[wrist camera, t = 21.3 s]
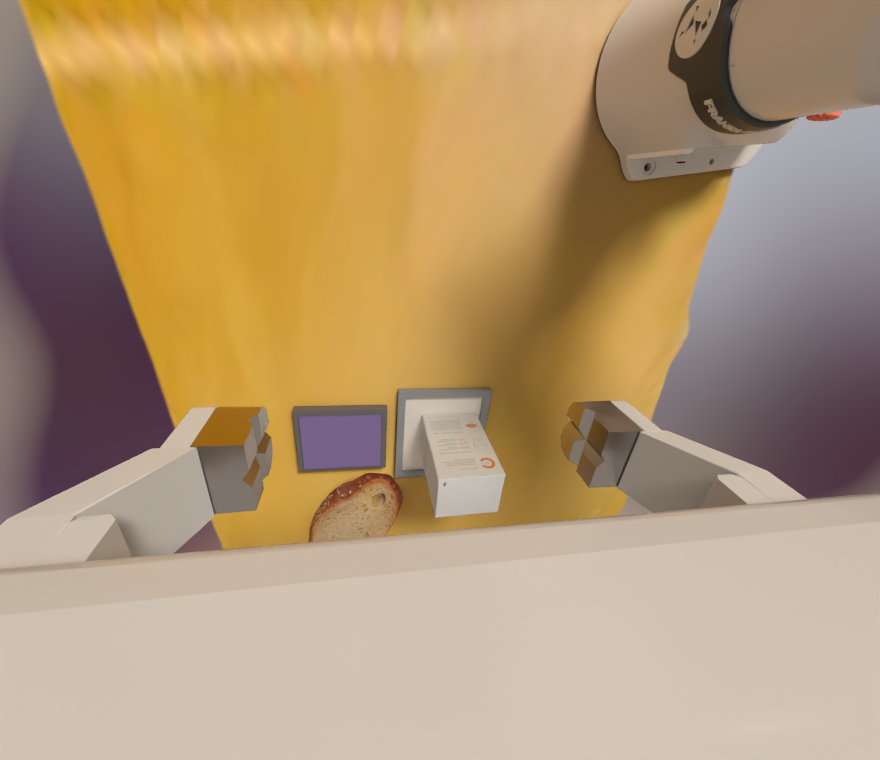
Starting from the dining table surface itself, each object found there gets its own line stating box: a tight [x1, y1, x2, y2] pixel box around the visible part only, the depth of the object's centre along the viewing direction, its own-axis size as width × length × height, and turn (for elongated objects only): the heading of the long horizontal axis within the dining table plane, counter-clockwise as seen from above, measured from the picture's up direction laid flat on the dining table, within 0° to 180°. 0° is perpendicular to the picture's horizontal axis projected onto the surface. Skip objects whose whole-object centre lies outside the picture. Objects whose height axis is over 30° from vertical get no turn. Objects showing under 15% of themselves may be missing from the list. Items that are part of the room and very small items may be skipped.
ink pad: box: [292, 405, 387, 472], centre depth 50 cm, size 12×10×2 cm
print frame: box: [395, 388, 492, 478], centre depth 54 cm, size 13×15×1 cm
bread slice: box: [309, 473, 403, 542], centre depth 58 cm, size 18×18×4 cm
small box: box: [420, 413, 506, 518], centre depth 48 cm, size 8×6×13 cm
